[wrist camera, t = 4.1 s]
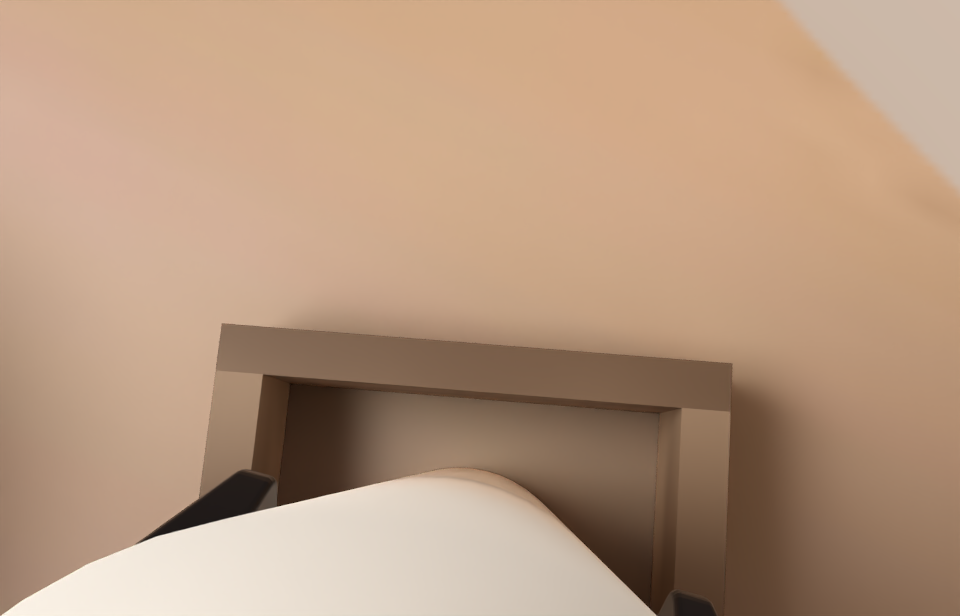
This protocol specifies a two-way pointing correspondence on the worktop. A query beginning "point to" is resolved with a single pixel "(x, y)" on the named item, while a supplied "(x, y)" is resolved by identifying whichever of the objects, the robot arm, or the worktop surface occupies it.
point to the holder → (505, 377)
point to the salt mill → (358, 560)
